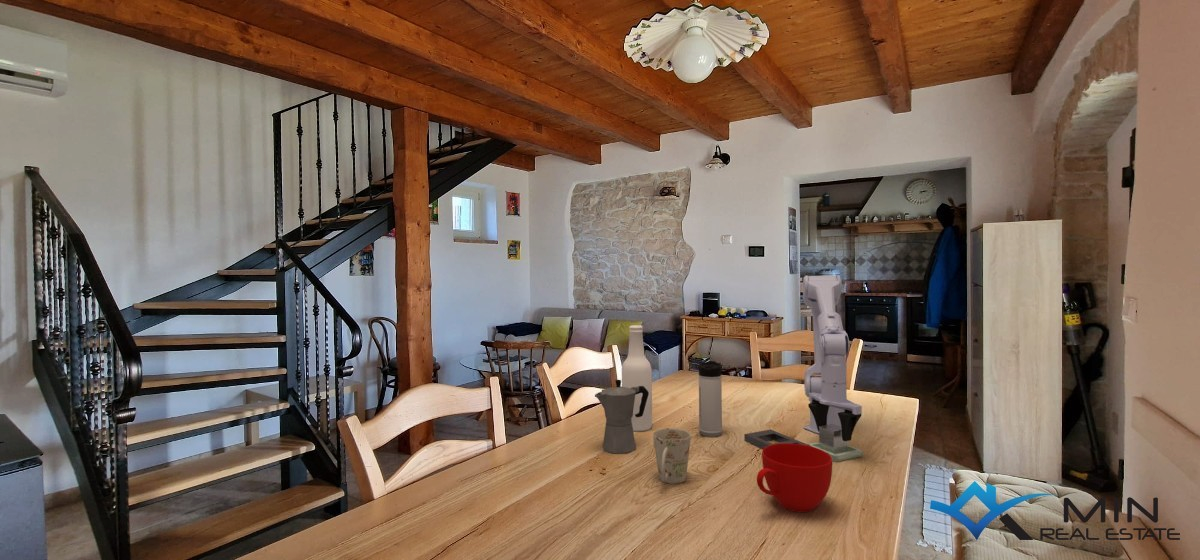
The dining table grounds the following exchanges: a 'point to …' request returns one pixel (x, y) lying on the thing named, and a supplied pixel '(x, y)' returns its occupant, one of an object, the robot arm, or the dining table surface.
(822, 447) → the grey rectangular block
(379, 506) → the dining table surface
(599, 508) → the dining table surface
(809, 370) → the robot arm
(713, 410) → the travel mug
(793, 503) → the ceramic cup
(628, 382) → the alcohol
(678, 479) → the mug
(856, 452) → the tray
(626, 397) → the coffeepot
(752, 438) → the dark grey flat frame
